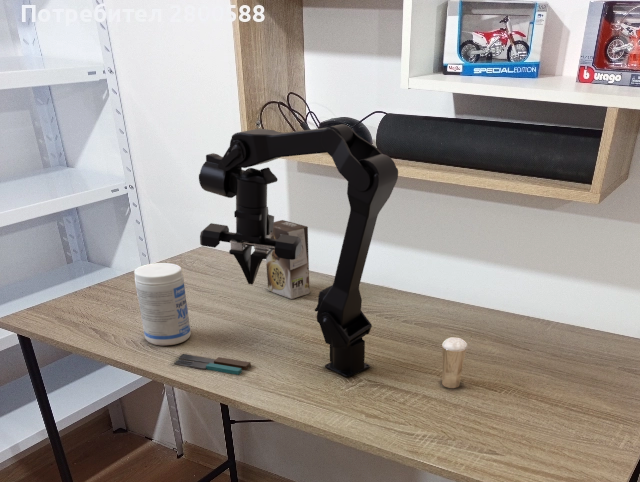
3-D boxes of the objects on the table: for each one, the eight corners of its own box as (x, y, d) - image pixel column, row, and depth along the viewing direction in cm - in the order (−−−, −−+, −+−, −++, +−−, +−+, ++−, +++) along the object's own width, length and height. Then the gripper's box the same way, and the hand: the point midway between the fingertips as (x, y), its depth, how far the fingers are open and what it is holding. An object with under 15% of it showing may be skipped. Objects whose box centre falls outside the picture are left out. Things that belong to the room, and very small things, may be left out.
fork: (242, 371, 132) (242, 367, 132) (238, 375, 131) (237, 371, 130) (179, 360, 136) (178, 356, 135) (173, 364, 134) (173, 360, 134)
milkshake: (460, 393, 126) (466, 343, 120) (434, 386, 128) (438, 336, 123) (470, 384, 129) (476, 334, 124) (445, 376, 132) (449, 328, 126)
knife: (250, 366, 134) (250, 362, 134) (246, 370, 133) (245, 366, 132) (183, 354, 138) (182, 350, 137) (178, 359, 136) (177, 354, 136)
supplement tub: (192, 344, 142) (183, 275, 134) (145, 349, 140) (133, 279, 132) (189, 327, 150) (180, 260, 142) (144, 331, 148) (132, 263, 139)
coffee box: (310, 293, 168) (309, 226, 159) (291, 299, 164) (288, 231, 155) (286, 284, 173) (283, 218, 164) (266, 290, 169) (262, 223, 160)
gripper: (309, 199, 133) (305, 276, 142) (217, 185, 134) (219, 262, 144) (296, 215, 124) (292, 296, 134) (197, 200, 126) (200, 282, 135)
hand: (251, 283), depth 137 cm, fingers closed
